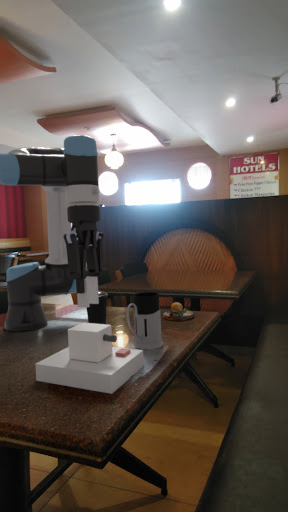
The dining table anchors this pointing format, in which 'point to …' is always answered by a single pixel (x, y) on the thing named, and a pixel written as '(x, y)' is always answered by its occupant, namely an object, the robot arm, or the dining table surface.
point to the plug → (90, 342)
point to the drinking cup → (98, 310)
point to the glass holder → (146, 320)
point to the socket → (91, 370)
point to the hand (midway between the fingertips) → (88, 304)
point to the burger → (178, 313)
